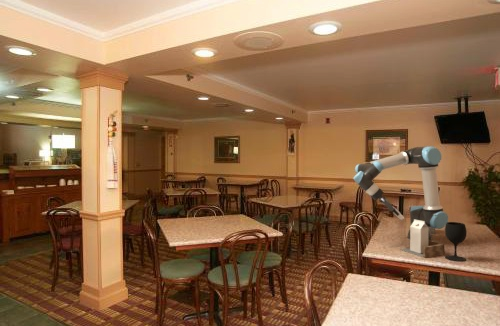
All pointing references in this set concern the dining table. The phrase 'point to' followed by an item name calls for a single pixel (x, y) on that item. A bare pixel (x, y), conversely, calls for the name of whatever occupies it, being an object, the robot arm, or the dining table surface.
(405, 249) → the mat
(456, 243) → the wine glass
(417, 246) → the milk carton
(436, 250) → the corner walls
